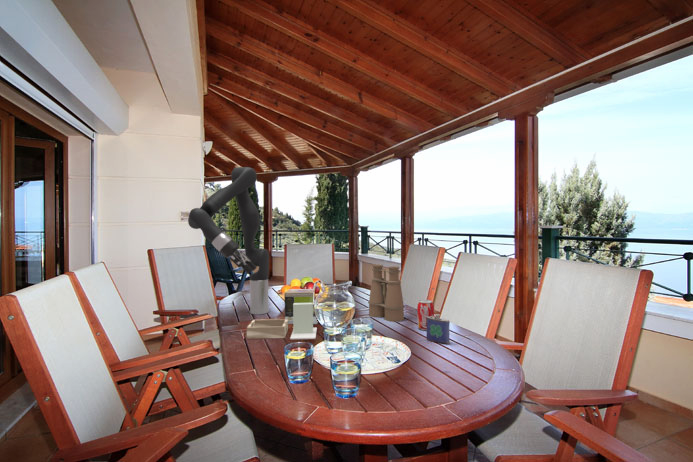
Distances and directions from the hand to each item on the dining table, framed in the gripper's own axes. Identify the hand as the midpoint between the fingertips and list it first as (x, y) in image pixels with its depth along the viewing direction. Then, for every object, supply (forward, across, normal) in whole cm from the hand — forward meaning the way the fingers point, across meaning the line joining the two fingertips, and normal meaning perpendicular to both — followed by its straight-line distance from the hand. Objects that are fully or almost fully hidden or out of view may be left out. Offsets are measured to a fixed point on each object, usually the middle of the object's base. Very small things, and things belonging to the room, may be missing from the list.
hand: (252, 270), depth 156 cm
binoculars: (+62, +14, -24) cm, 68 cm away
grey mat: (+34, -9, +2) cm, 35 cm away
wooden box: (+23, -8, +13) cm, 28 cm away
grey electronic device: (+33, +10, +4) cm, 35 cm away
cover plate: (+33, -9, +2) cm, 35 cm away
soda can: (+71, -7, -34) cm, 79 cm away
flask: (+71, -24, -34) cm, 82 cm away
